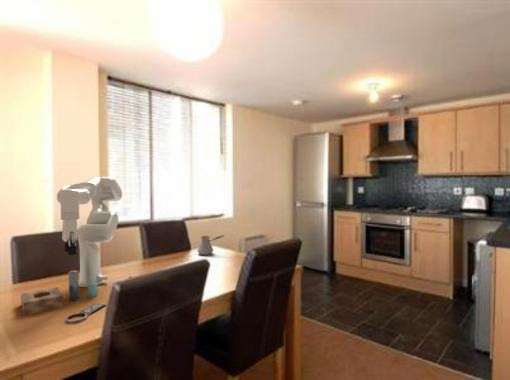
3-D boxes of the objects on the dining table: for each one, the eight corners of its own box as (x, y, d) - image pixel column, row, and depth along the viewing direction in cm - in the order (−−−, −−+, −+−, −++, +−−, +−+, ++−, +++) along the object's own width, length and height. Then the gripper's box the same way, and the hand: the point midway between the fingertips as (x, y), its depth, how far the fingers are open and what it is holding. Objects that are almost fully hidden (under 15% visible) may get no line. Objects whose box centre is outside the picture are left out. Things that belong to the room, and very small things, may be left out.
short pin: (98, 294, 157) (98, 282, 157) (95, 297, 153) (95, 284, 153) (89, 294, 157) (89, 282, 157) (86, 297, 153) (86, 285, 153)
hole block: (58, 297, 153) (57, 287, 153) (63, 306, 142) (62, 295, 142) (21, 304, 144) (21, 293, 144) (23, 315, 133) (23, 303, 133)
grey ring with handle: (110, 306, 144) (110, 302, 143) (77, 325, 125) (77, 320, 125) (94, 305, 145) (94, 300, 145) (60, 323, 127) (60, 318, 126)
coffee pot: (194, 255, 237) (194, 234, 237) (202, 251, 248) (202, 232, 247) (221, 257, 230) (221, 236, 229) (227, 254, 241) (227, 233, 240)
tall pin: (80, 297, 153) (79, 270, 153) (77, 300, 149) (76, 272, 149) (71, 298, 153) (70, 270, 152) (67, 301, 149) (67, 272, 148)
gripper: (58, 215, 155) (58, 251, 155) (63, 218, 141) (64, 257, 141) (75, 214, 160) (76, 249, 160) (82, 216, 146) (83, 255, 146)
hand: (70, 253), depth 151 cm, fingers open, 9 cm apart
